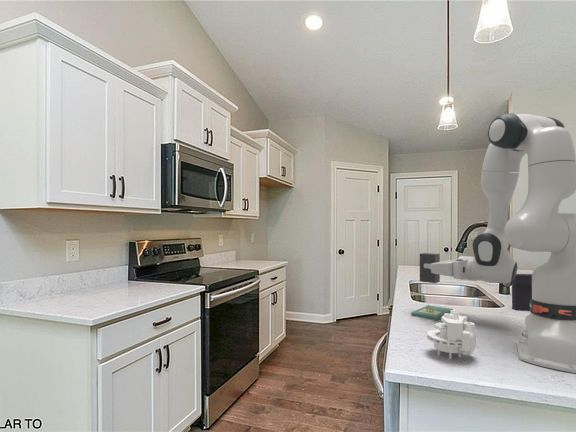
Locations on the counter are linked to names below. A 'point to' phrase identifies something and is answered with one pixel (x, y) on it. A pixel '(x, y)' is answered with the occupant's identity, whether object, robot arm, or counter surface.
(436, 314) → the header board
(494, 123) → the robot arm
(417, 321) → the counter surface
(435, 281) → the plug housing
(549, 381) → the counter surface
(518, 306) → the calculator
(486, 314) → the counter surface
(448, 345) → the mechanical part
